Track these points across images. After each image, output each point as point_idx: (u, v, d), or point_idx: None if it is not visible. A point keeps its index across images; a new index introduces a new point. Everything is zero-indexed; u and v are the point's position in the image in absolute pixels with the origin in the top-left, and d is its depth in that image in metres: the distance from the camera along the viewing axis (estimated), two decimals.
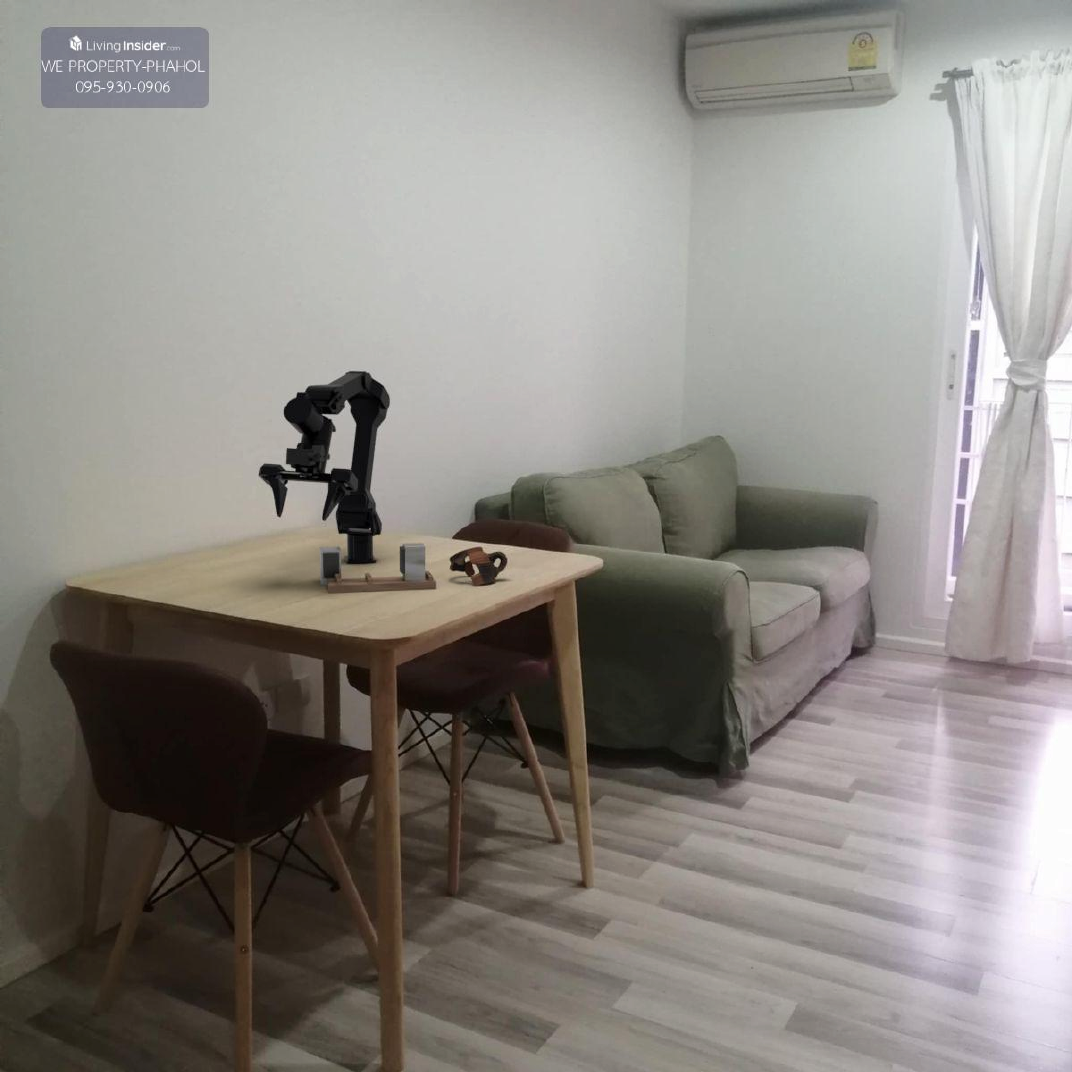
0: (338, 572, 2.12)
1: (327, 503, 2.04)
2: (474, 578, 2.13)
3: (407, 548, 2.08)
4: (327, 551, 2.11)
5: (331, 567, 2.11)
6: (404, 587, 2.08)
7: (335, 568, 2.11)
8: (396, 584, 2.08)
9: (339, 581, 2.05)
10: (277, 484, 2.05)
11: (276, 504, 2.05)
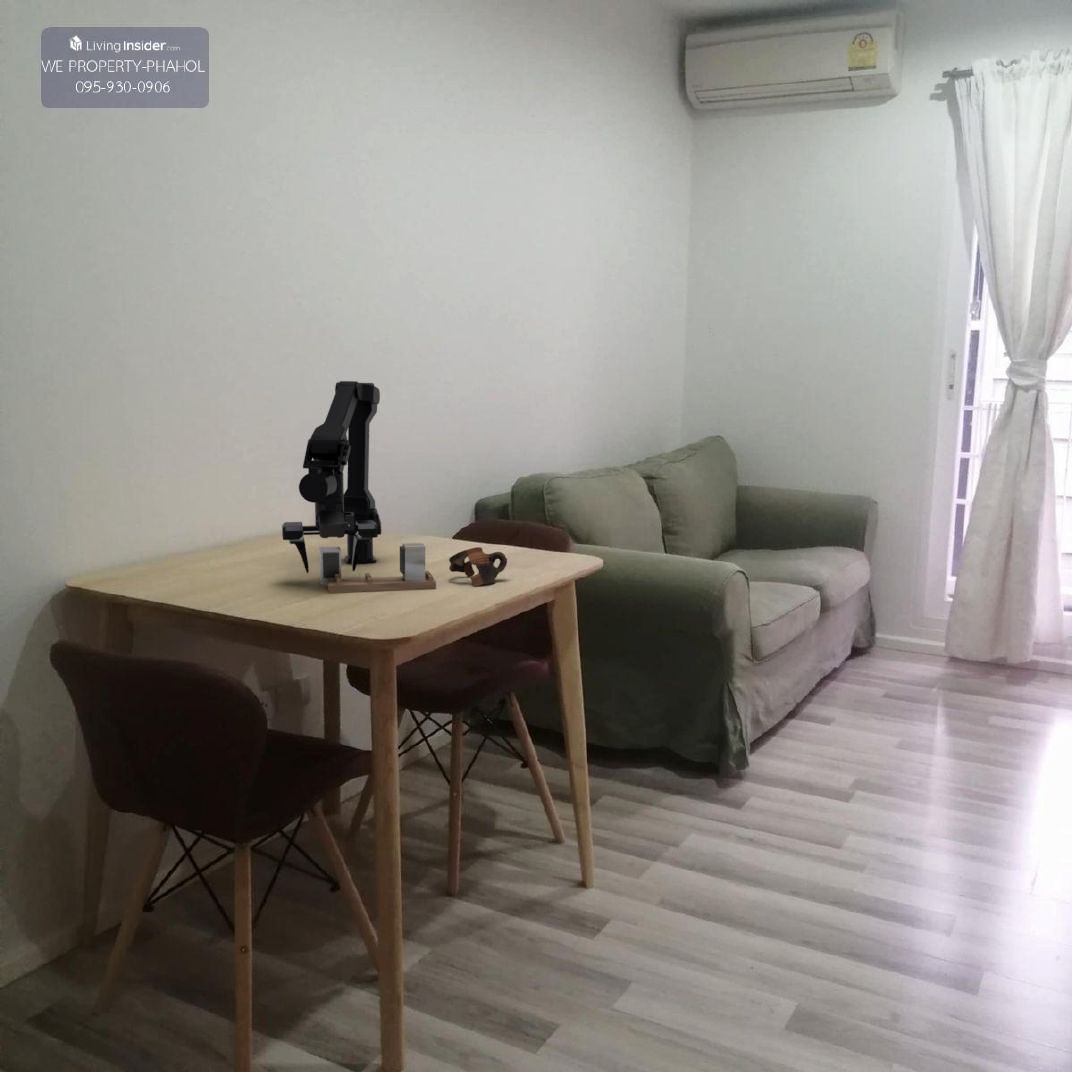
0: (338, 572, 2.12)
1: (356, 556, 2.14)
2: (474, 578, 2.12)
3: (407, 548, 2.08)
4: (327, 551, 2.11)
5: (331, 567, 2.11)
6: (404, 587, 2.08)
7: (335, 568, 2.11)
8: (396, 584, 2.08)
9: (339, 581, 2.05)
10: (304, 545, 2.09)
11: (304, 563, 2.11)
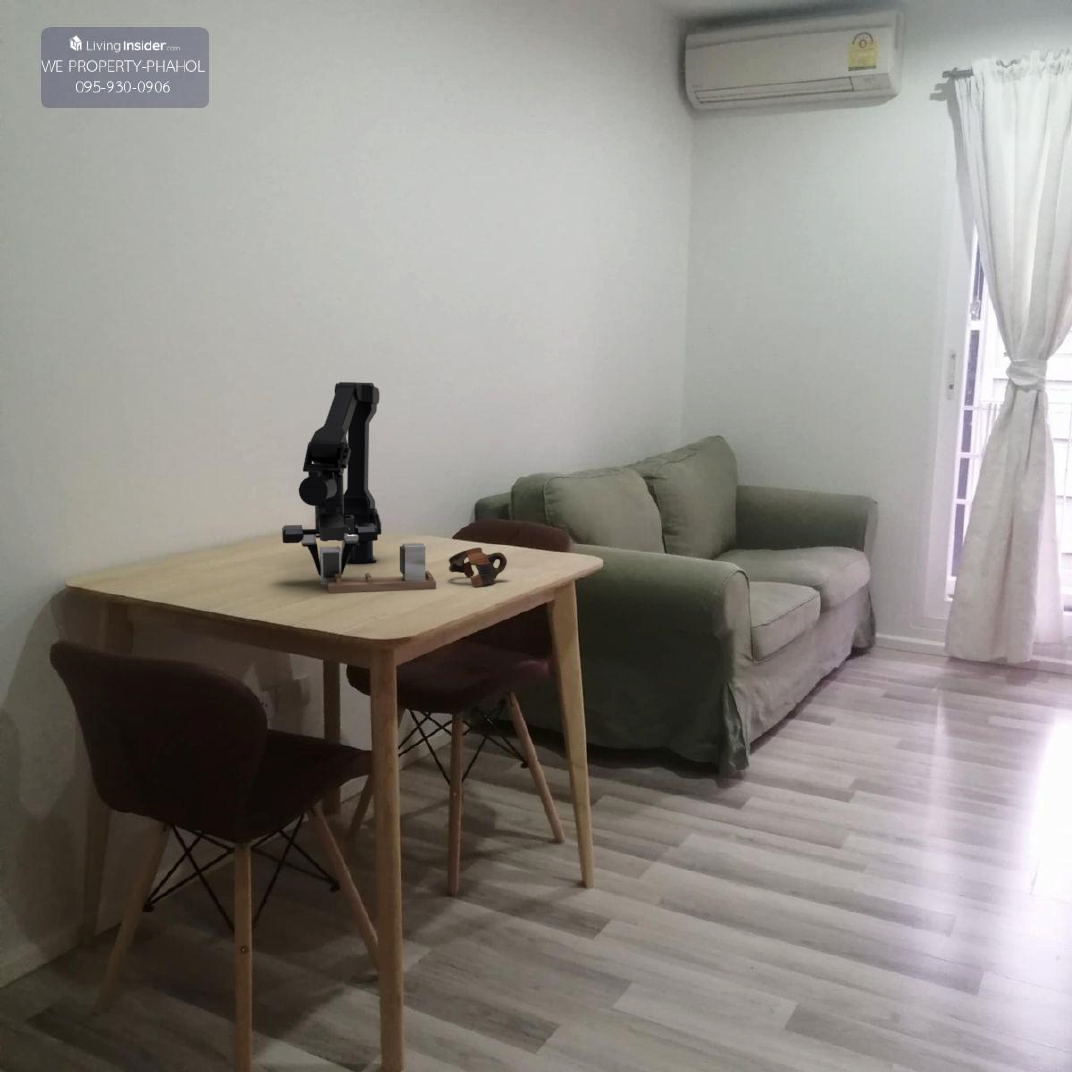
0: (338, 572, 2.12)
1: (344, 560, 2.13)
2: (474, 579, 2.12)
3: (407, 548, 2.08)
4: (327, 551, 2.11)
5: (331, 567, 2.11)
6: (404, 587, 2.08)
7: (335, 568, 2.11)
8: (396, 584, 2.08)
9: (339, 581, 2.05)
10: (316, 548, 2.10)
11: (317, 565, 2.12)
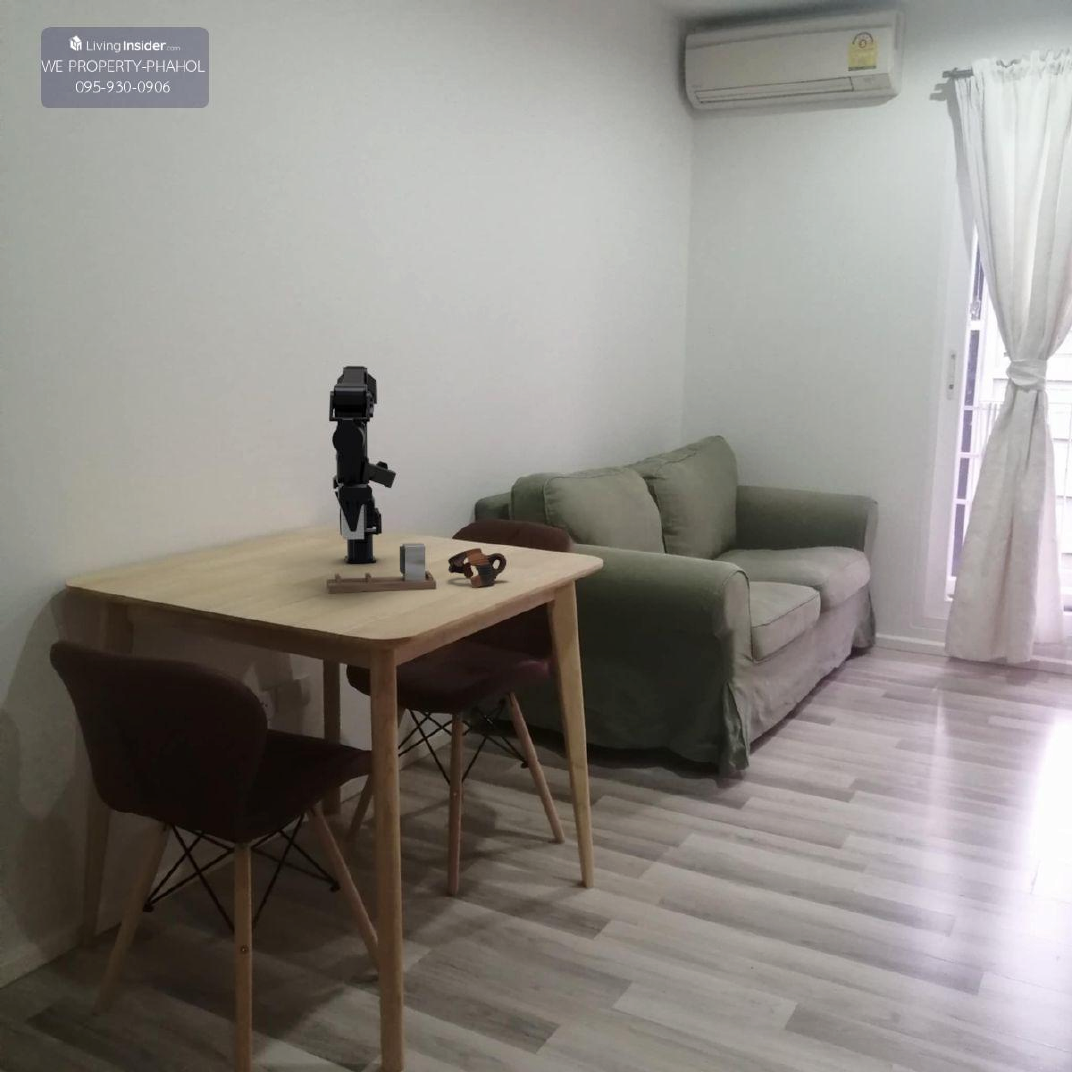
0: None
1: None
2: (473, 580, 2.11)
3: (407, 548, 2.08)
4: None
5: None
6: (404, 587, 2.08)
7: None
8: (396, 584, 2.08)
9: (339, 581, 2.05)
10: None
11: (358, 520, 2.04)
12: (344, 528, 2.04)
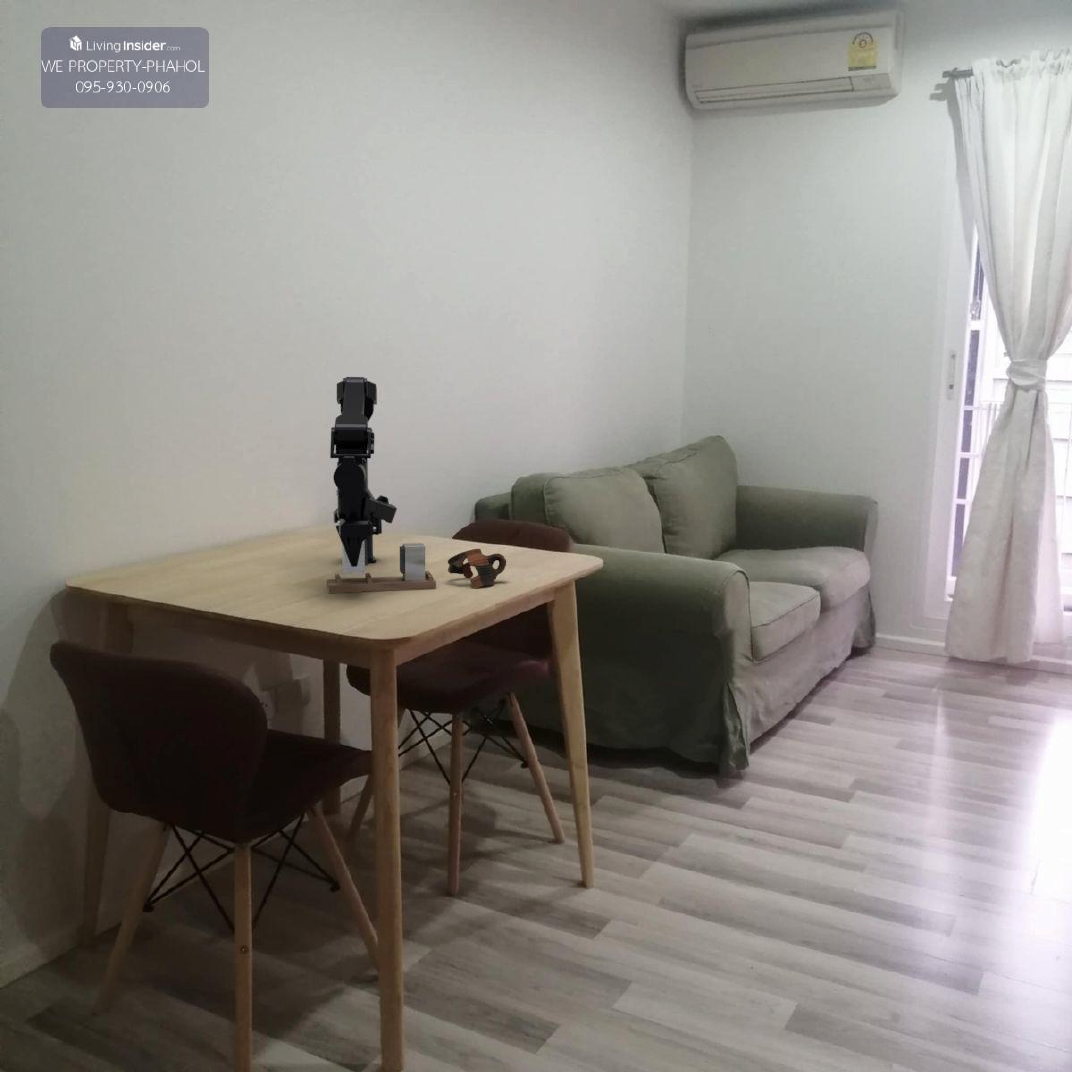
0: None
1: None
2: (473, 580, 2.10)
3: (407, 548, 2.08)
4: None
5: None
6: (404, 587, 2.08)
7: None
8: (396, 584, 2.08)
9: (339, 581, 2.05)
10: None
11: (359, 555, 2.05)
12: (345, 563, 2.05)
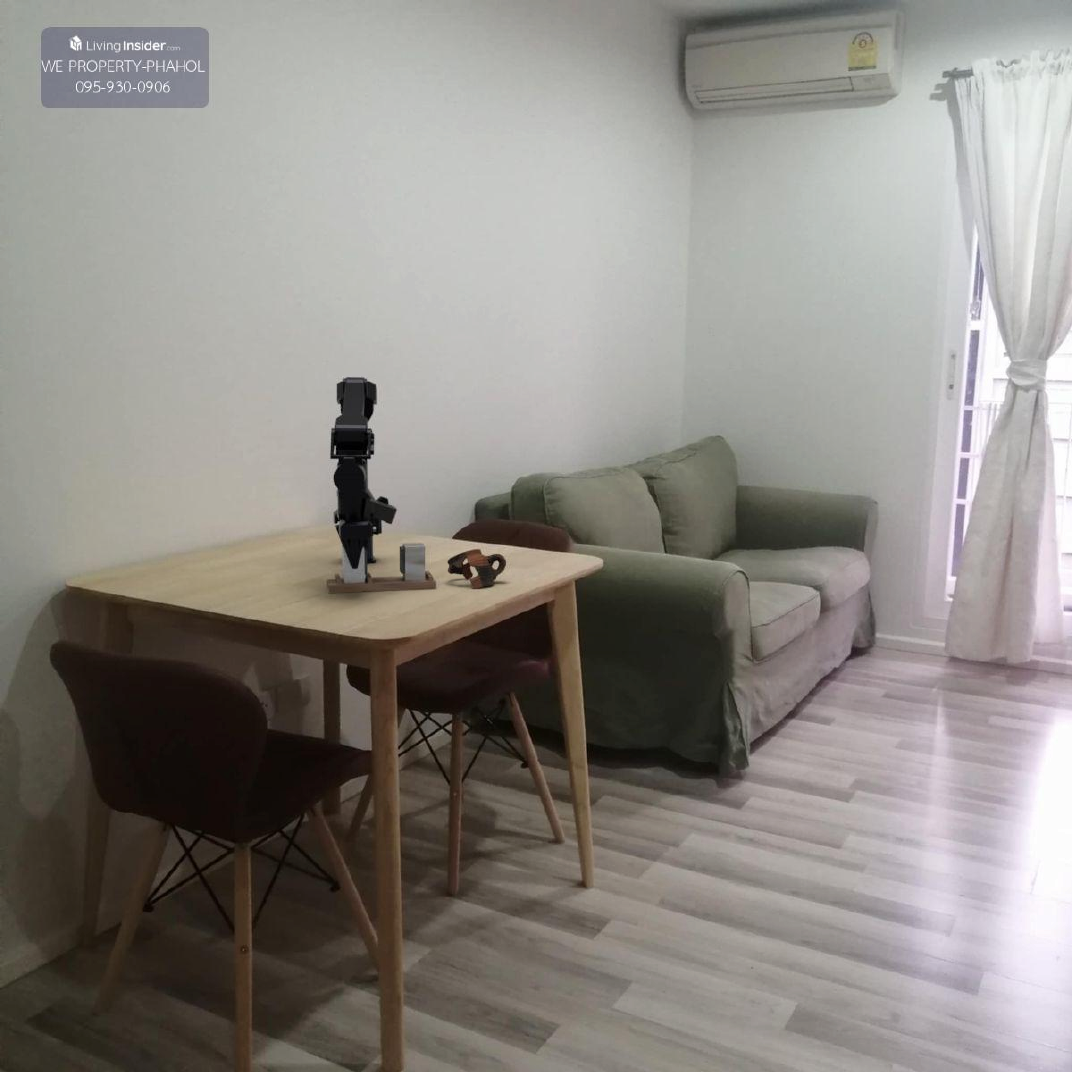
0: None
1: None
2: (473, 581, 2.10)
3: (407, 548, 2.08)
4: (363, 547, 2.07)
5: None
6: (404, 587, 2.08)
7: None
8: (396, 584, 2.08)
9: (339, 581, 2.05)
10: None
11: (359, 558, 2.04)
12: (345, 573, 2.06)
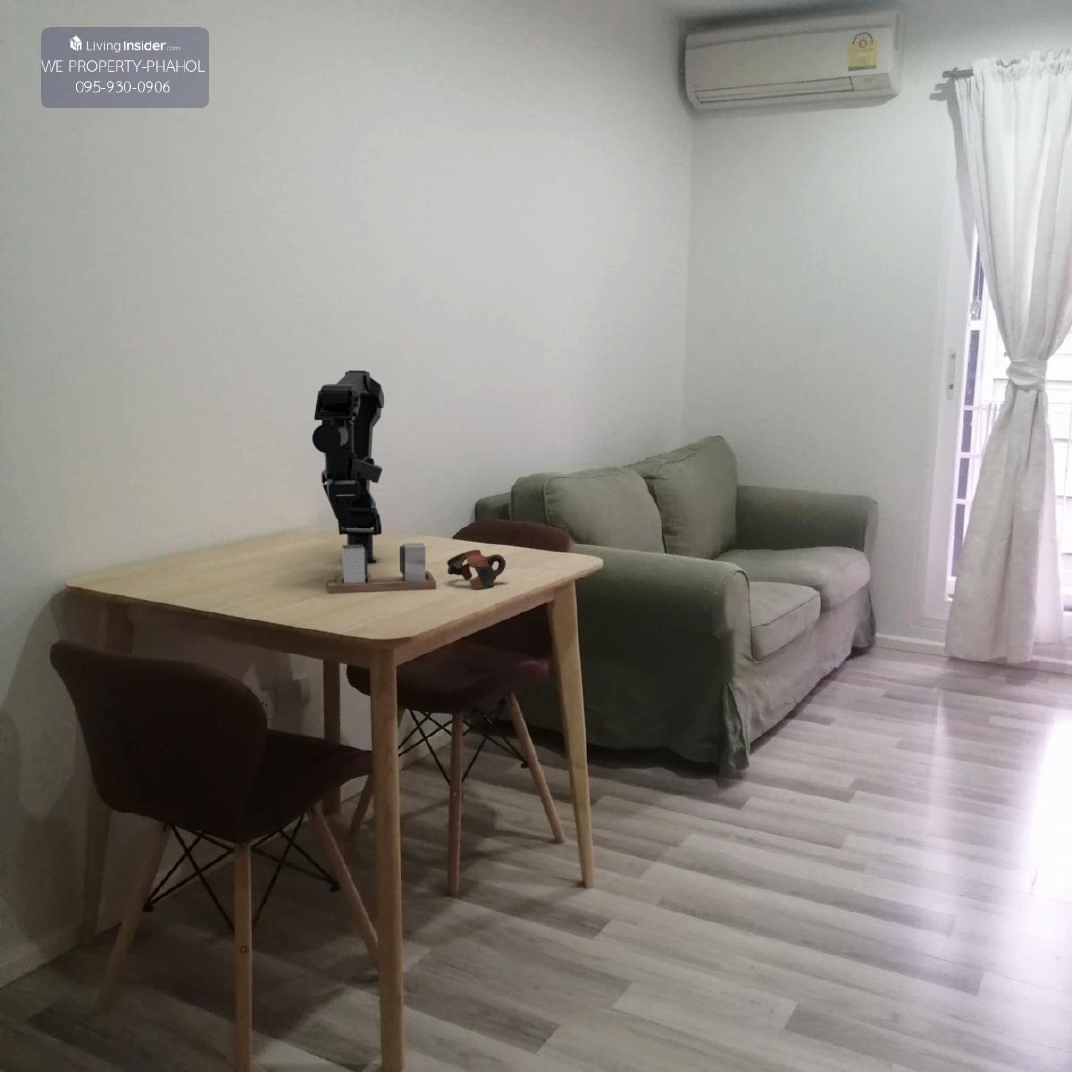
0: None
1: None
2: (473, 581, 2.09)
3: (407, 548, 2.08)
4: (363, 547, 2.07)
5: None
6: (404, 587, 2.08)
7: None
8: (396, 584, 2.08)
9: (339, 581, 2.05)
10: None
11: (347, 516, 2.11)
12: (345, 573, 2.06)
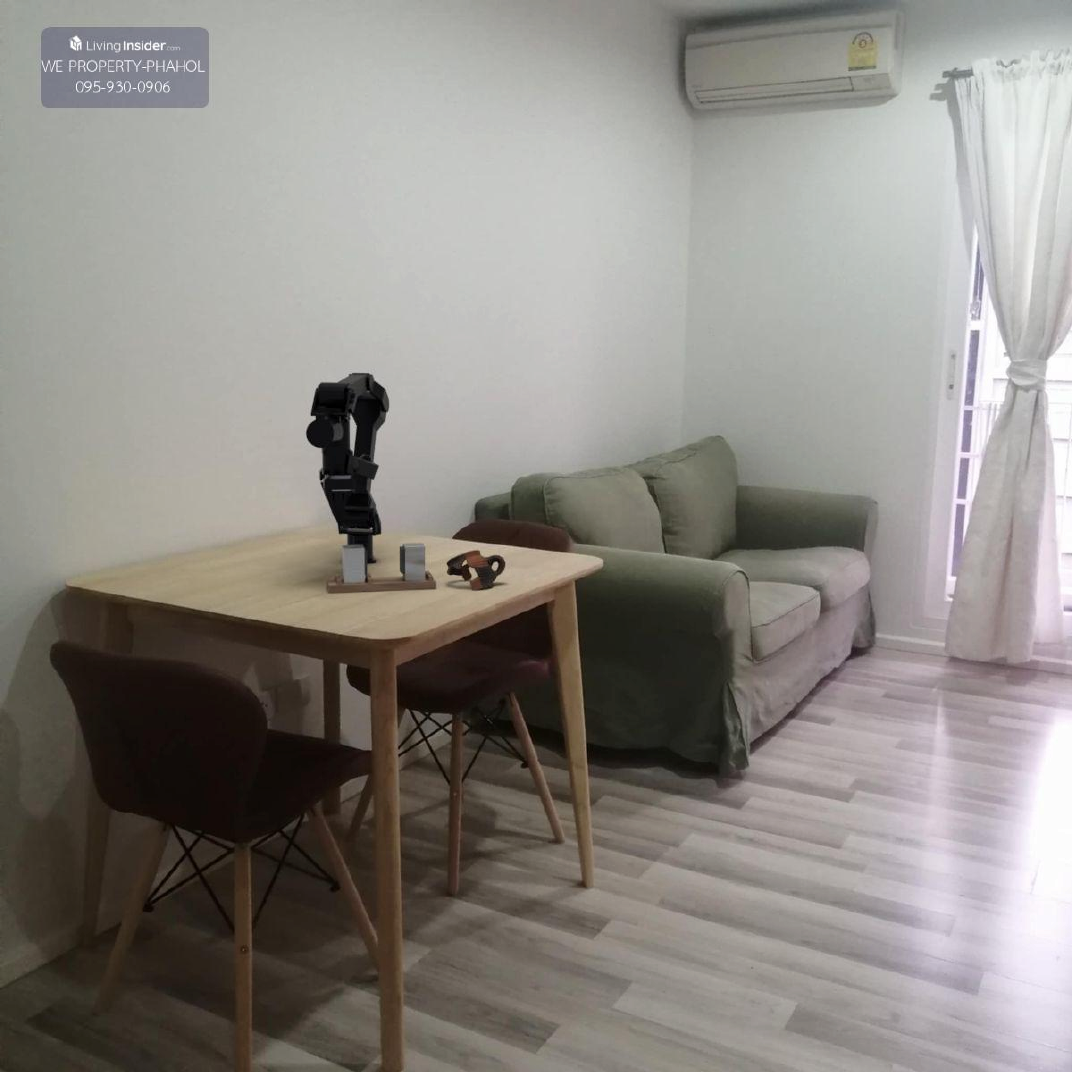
0: None
1: None
2: (473, 582, 2.09)
3: (407, 548, 2.08)
4: (363, 547, 2.07)
5: None
6: (404, 587, 2.08)
7: None
8: (396, 584, 2.08)
9: (339, 581, 2.05)
10: None
11: (343, 512, 2.13)
12: (345, 573, 2.06)
